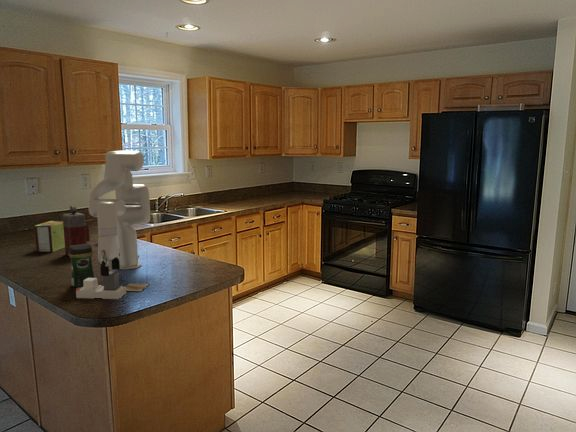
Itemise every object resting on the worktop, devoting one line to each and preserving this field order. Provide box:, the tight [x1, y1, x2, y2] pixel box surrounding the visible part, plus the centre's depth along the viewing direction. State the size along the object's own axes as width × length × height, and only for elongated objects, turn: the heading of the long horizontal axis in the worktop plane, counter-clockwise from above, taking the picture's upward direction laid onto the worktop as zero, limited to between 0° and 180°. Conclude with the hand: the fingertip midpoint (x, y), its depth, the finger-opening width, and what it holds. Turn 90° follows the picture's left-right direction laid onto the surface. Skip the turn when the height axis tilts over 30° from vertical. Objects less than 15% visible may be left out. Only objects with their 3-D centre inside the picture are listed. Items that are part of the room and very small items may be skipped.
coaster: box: [124, 283, 149, 292], centre depth 193 cm, size 9×9×1 cm
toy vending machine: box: [62, 205, 91, 257], centre depth 247 cm, size 9×11×28 cm
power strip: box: [75, 277, 127, 300], centre depth 183 cm, size 18×7×7 cm, turn 86°
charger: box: [102, 270, 120, 291], centre depth 183 cm, size 4×4×7 cm
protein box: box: [33, 220, 65, 253], centre depth 261 cm, size 10×15×16 cm
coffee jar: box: [68, 243, 96, 288], centre depth 196 cm, size 10×8×19 cm
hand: (110, 272), depth 182 cm, fingers open, 9 cm apart
